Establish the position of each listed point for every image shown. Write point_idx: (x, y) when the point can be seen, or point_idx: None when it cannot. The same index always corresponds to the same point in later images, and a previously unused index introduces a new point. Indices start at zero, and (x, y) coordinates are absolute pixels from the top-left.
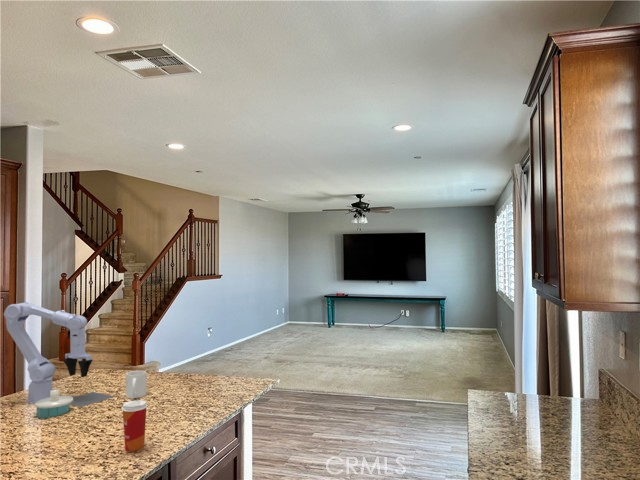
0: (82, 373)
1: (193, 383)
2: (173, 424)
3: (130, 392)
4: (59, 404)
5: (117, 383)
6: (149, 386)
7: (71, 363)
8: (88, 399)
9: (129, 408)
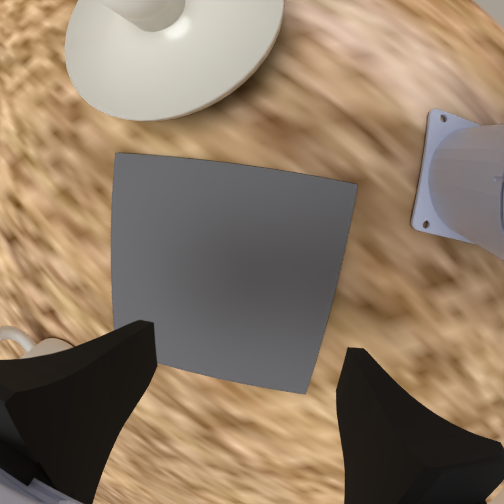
0: (109, 333)
1: None
2: None
3: (36, 349)
4: (78, 2)
5: (306, 489)
6: (146, 468)
7: (373, 476)
8: (199, 280)
9: None
